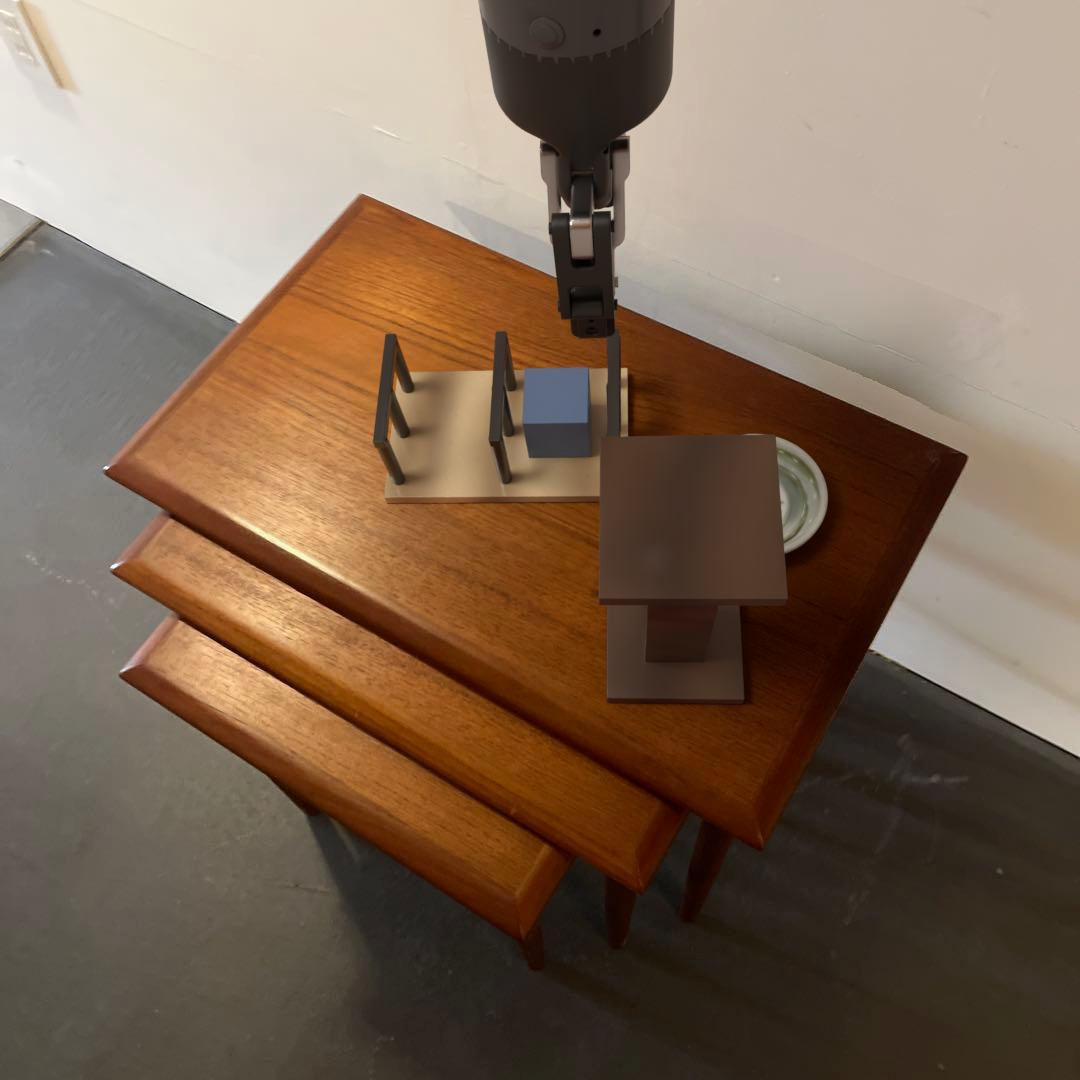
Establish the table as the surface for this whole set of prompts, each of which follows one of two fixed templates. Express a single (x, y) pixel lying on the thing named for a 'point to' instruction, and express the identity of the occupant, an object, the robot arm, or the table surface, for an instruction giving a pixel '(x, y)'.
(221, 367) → the table surface
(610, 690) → the stand
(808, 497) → the saucer
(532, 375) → the block
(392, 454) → the rack
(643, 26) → the robot arm
